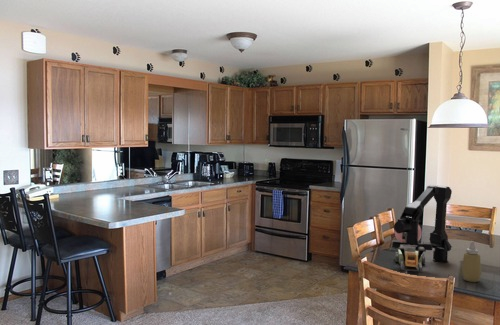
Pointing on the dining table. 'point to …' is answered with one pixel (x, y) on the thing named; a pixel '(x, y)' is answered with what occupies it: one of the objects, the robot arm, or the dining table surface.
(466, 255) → the squeeze bottle
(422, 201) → the robot arm
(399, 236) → the pink rounded piece
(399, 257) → the mower deck
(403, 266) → the chute bracket
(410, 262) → the chute
